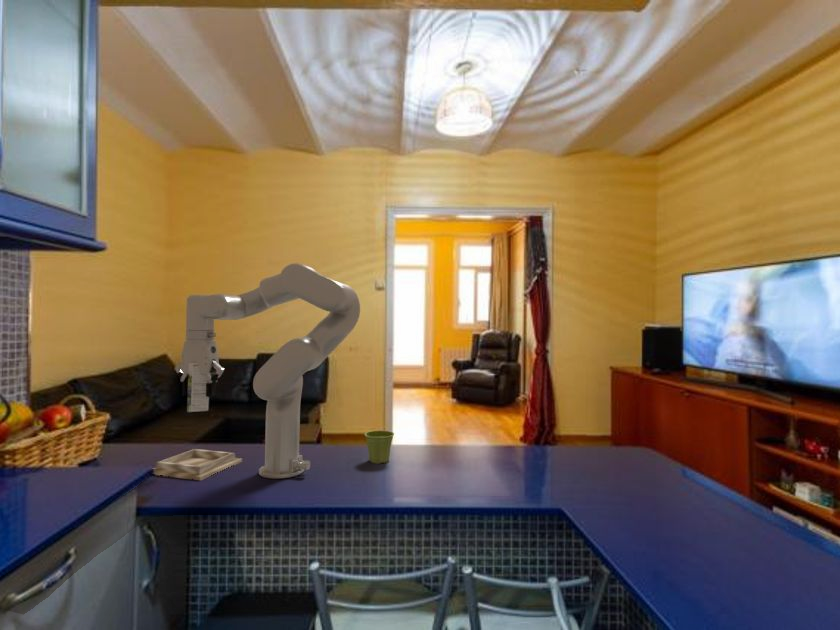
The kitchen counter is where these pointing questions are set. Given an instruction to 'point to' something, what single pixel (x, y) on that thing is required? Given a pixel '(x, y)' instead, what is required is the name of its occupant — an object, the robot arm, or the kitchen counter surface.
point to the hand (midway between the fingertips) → (198, 395)
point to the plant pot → (379, 445)
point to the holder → (196, 464)
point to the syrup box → (196, 390)
